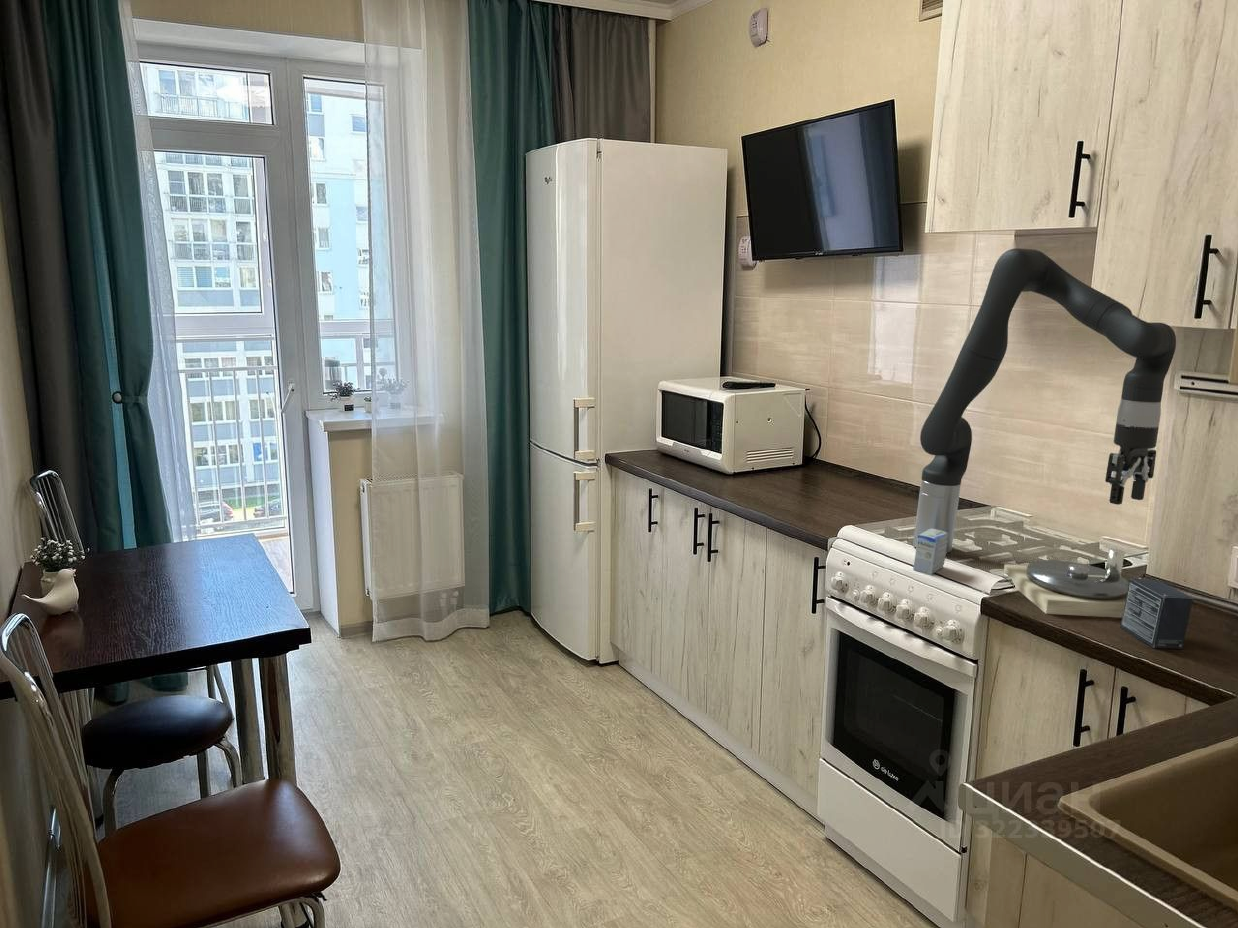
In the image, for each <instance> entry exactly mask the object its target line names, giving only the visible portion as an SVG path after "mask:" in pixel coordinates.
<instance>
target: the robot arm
mask: <svg viewBox="0 0 1238 928" xmlns="http://www.w3.org/2000/svg"><path fill="white" fill-rule="evenodd" d="M1023 292H1024V293H1025V292H1026V293H1028V292H1032V293H1036V294H1038V295H1041V296H1043V297H1047V298H1048V299H1051V300H1053V301H1054V302H1056V303H1058V304H1059V305H1061V307H1063V308H1064V309H1065V310H1066V311H1067V312H1068V314H1070V315H1071V316H1072V317H1073V318H1074V319H1075V320H1076V321H1078V322H1079V323H1081V324H1082V325H1084V326H1086V327H1088V328H1089V329H1091V330H1092V331H1094V332H1096V333H1098V334H1100V335H1102V336H1104V337H1105V338H1107V340H1108V341H1110V342H1111V343H1112V344H1113V345H1114V347H1117V348H1118V349H1119V350H1120V351H1122V352H1123V353H1125V354H1127V355H1129V356H1131V357H1133V358H1135V363H1134V366H1133V368H1132V369H1131V370H1130V371H1128V372H1126V374H1124V379H1123V384H1122V389H1121V396H1120V398H1121V399H1120V402H1119V406H1118V409H1117V415H1116V421H1115V430H1114V437H1113V444H1115V445H1116V446H1119V452H1118V453H1115V452H1114V453H1113V452H1110V454H1108V455H1109V456H1108V461H1107V467H1106V473H1105V480H1104V481H1105V483H1109V484H1110V485H1111V488H1110V494H1109V503H1110V504H1113V505H1117V506H1118V505H1122V504H1123V500H1124V493H1125V485H1126V483H1127V481H1128V479H1130V478H1132V477H1133V481H1132V488H1131V493H1130V494H1131V495H1130V498H1131V499H1132V500H1136V501H1142V500H1144V499H1145V498H1144V496H1145V491H1146V490H1145V489H1146V483H1148V482H1149V479H1153V478H1154V473H1155V465H1156V456H1157V450H1155V449H1154V448H1156V447H1157V441H1158V436H1159V429H1160V423H1161V422H1160V421H1161V415H1162V408H1161V407H1162V399H1163V398H1162V397H1163V392H1164V384H1165V383H1164V382H1165V379H1166V376H1167V374H1168V372H1169V370H1170V366H1171V364H1172V361H1173V359H1174V357H1175V356H1174V355H1175V353H1176V347H1177V335H1176V333H1175V331H1174V329H1173V328H1172V326H1170V325H1168V324H1166V323H1163V322H1148V321H1146V320H1143V319H1141V318H1139V317H1137V316H1135V315H1134V314H1133V312H1132V309H1130V308H1129V307H1128V306H1126V305H1125V304H1124V303H1122V302H1119V301H1118V300H1116V299H1114V298H1112V297H1110V296H1108V295H1107V294H1105V293H1103V292H1101V291H1099V290H1097V289H1095V288H1093V287H1092V286H1090V285H1088V284H1086V283H1084V282H1083V281H1081V280H1080V279H1078V278H1076V277H1075V276H1073V275H1072V274H1070V273H1069V272H1068V271H1066V270H1065V269H1064V268H1063V267H1061V266H1060V265H1059V264H1058V263H1056V261H1054V260H1053V259H1052V258H1051V257H1049V256H1048V255H1047V254H1045V252H1042V251H1040V250H1038V249H1033V248H1032V249H1031V248H1020V247H1019V248H1011V249H1008V250H1006V251H1005V252H1004V253H1002V254H1001V255H1000V256H999V258H998V259H997V260H996V262H995V264H994V267H993V270H992V272H991V275H990V278H989V281H988V284H987V288H986V291H985V293H984V297H983V299H982V302H981V305H980V307H979V309H978V311H977V314H976V316H975V319H974V320H973V323H972V325H971V328H970V329H969V332H968V335H967V336H966V338H965V340H964V342H963V345H962V347H961V349H960V351H959V353H958V356H957V358H956V361H955V363H954V365H953V368H952V369H951V372H950V374H949V376H948V379H947V381H946V383H945V385H944V387H943V389H942V391H941V393H940V396H939V397H938V399H937V401H936V402H935V404H934V406H933V408H932V409H931V411H930V412H929V414H928V415H927V417H926V419H925V420H924V423H923V425H922V427H921V430H920V435H919V436H920V438H919V440H920V446H921V448H922V449H923V451H924V452H925V453H927V454H928V455H930V456H934V457H933V459H932V460H931V462H930V463H929V464H927V465H925V467H924V468H923V469H922V471H921V480H920V485H919V486H920V487H919V488H920V489H919V493H918V494H919V495H918V502H917V509H916V518H915V526H914V533H913V541H912V546H915V547H916V546H917V539H918V535H920V534H921V533H923V532H925V531H927V530H929V529H936V530H941V531H944V532H947V533H949V534H948V542H947V548H946V552H950V551H951V552H952V550H953V542H954V535H955V528H956V521H957V514H958V507H959V501H960V500H959V499H960V492H961V485H962V479H963V477H964V476H965V474H966V471H967V469H968V464H969V459H970V453H971V449H972V443H973V442H972V441H973V431H972V427H971V425H970V423H969V421H967V420H966V418H964V417H962V416H963V414H964V413H965V410H967V407H969V405H970V404H971V403H972V402H973V401H974V399H976V398H977V396H979V395H980V394H981V393H982V392H983V390H984V389H986V388H987V386H988V385H989V384H990V383H991V382H992V380H993V379H994V377H995V376H996V374H997V372H998V370H999V368H1000V366H1001V363H1002V362H1003V359H1004V357H1005V354H1006V353H1007V348H1008V344H1009V343H1008V342H1009V320H1010V317H1011V313H1012V311H1013V308H1014V307H1015V305H1016V303H1017V301H1018V299H1019V297H1020V296H1021V294H1022V293H1023ZM951 552H950V553H951Z"/></svg>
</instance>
